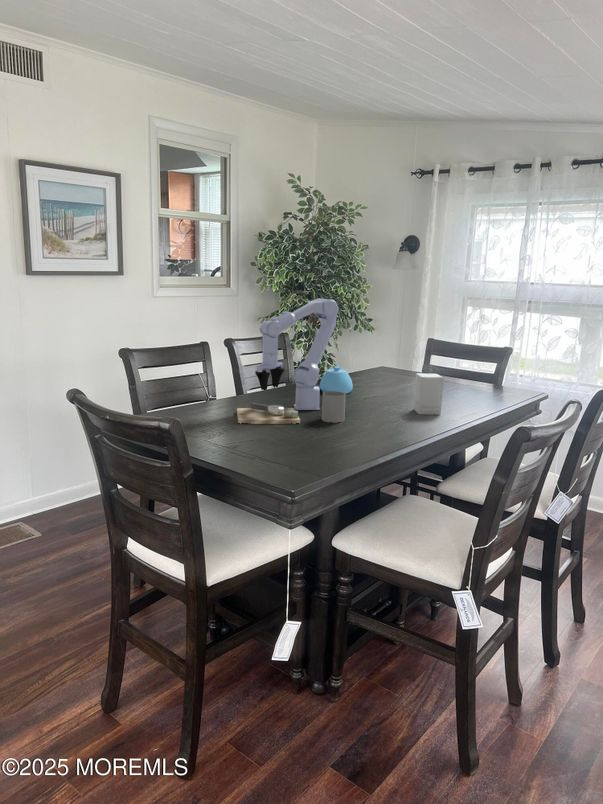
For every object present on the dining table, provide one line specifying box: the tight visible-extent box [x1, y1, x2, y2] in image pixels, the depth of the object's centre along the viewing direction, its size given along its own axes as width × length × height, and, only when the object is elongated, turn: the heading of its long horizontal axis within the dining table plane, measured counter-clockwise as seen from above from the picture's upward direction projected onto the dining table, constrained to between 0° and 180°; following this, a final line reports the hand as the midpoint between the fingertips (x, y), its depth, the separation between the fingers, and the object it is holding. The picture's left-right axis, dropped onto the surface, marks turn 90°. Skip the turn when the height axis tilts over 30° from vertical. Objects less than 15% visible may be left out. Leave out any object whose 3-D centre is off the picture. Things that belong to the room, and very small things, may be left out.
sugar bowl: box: [319, 366, 354, 395], centre depth 271 cm, size 15×15×12 cm
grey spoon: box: [250, 402, 285, 415], centre depth 223 cm, size 14×6×2 cm, turn 58°
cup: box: [321, 391, 347, 424], centre depth 220 cm, size 8×8×10 cm
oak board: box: [236, 407, 301, 425], centre depth 222 cm, size 22×18×4 cm
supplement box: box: [413, 372, 445, 416], centre depth 236 cm, size 9×9×15 cm
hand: (269, 388), depth 229 cm, fingers open, 7 cm apart
